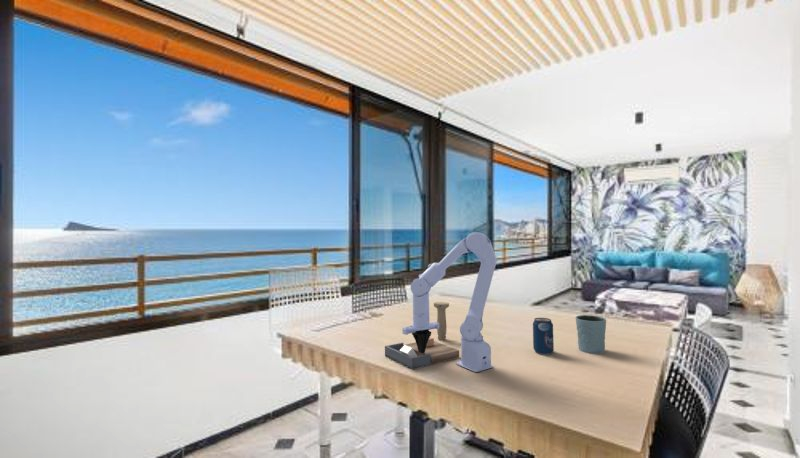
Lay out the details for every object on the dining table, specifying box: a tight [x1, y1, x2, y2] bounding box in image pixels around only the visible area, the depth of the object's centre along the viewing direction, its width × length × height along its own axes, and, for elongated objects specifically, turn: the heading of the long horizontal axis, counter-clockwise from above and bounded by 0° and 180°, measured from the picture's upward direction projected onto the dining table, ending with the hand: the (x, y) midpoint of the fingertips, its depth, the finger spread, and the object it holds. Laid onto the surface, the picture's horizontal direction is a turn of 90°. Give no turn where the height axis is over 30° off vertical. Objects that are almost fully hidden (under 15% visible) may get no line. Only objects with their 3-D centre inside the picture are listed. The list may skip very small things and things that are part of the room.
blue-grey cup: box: [575, 314, 607, 355], centre depth 134 cm, size 10×10×12 cm
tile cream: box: [400, 344, 417, 357], centre depth 123 cm, size 4×4×2 cm
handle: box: [433, 301, 450, 341], centre depth 152 cm, size 5×6×15 cm
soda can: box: [532, 317, 555, 356], centre depth 133 cm, size 7×7×12 cm
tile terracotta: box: [426, 336, 435, 347], centre depth 136 cm, size 4×4×2 cm
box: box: [384, 342, 433, 370], centre depth 126 cm, size 17×8×4 cm, turn 33°
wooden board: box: [405, 340, 460, 365], centre depth 132 cm, size 17×12×2 cm
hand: (421, 352), depth 126 cm, fingers closed
